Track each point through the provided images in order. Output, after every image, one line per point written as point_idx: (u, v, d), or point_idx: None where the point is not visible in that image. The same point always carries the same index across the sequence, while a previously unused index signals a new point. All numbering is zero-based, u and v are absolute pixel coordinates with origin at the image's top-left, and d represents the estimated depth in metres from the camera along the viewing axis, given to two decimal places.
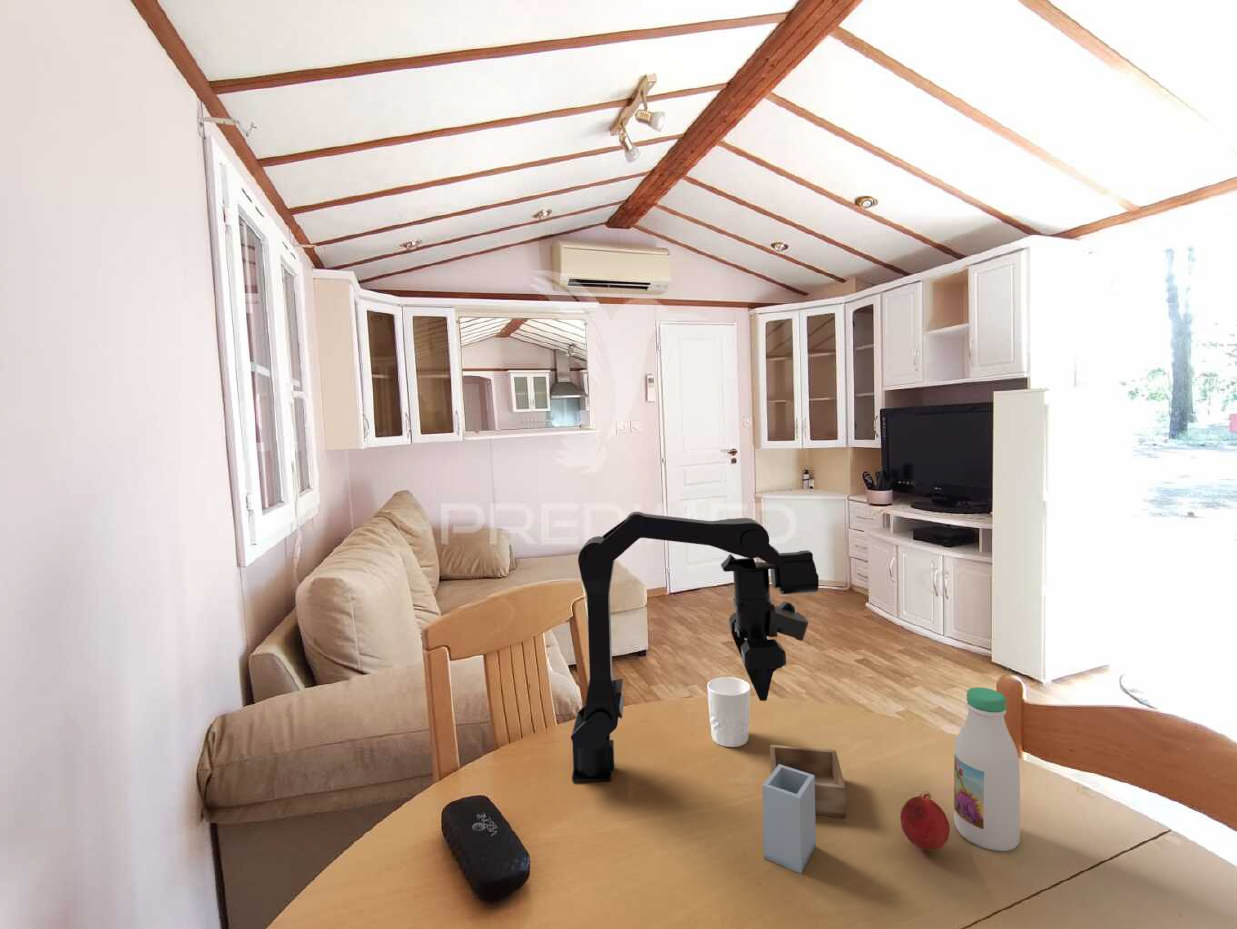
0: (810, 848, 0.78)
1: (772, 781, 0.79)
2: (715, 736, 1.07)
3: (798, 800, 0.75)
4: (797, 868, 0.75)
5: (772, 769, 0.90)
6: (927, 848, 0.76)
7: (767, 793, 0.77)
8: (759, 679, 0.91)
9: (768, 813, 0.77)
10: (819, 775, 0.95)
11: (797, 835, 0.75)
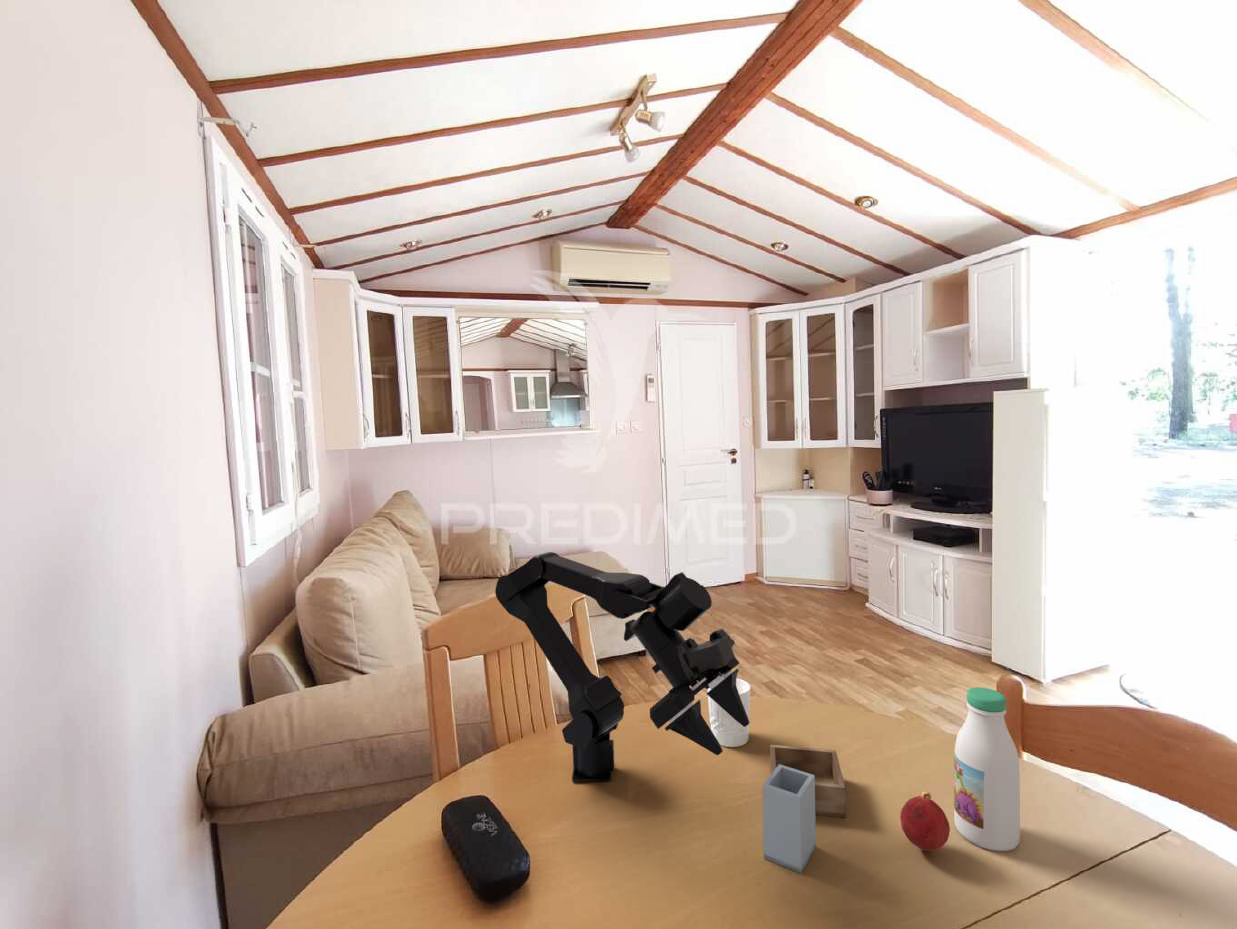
0: (810, 848, 0.78)
1: (772, 781, 0.79)
2: (715, 736, 1.07)
3: (798, 800, 0.75)
4: (797, 868, 0.75)
5: (772, 769, 0.90)
6: (927, 848, 0.76)
7: (767, 793, 0.77)
8: (695, 733, 0.80)
9: (768, 813, 0.77)
10: (819, 775, 0.95)
11: (797, 835, 0.75)
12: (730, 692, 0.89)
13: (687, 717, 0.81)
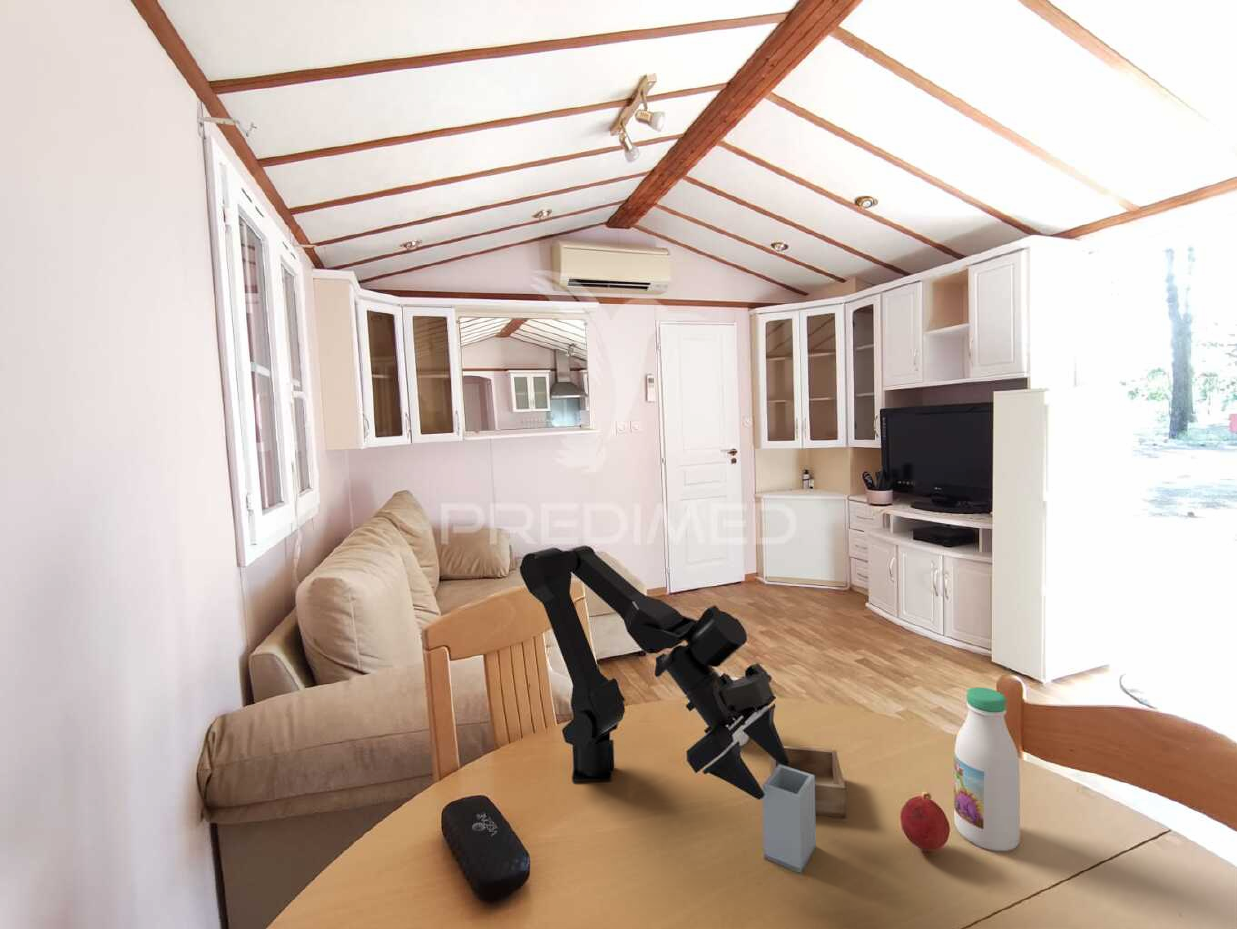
0: (810, 848, 0.78)
1: (772, 781, 0.79)
2: None
3: (798, 800, 0.75)
4: (797, 868, 0.75)
5: (772, 769, 0.90)
6: (927, 848, 0.76)
7: (767, 793, 0.77)
8: (735, 777, 0.77)
9: (768, 813, 0.77)
10: (819, 775, 0.95)
11: (797, 835, 0.75)
12: (768, 729, 0.85)
13: (726, 759, 0.77)
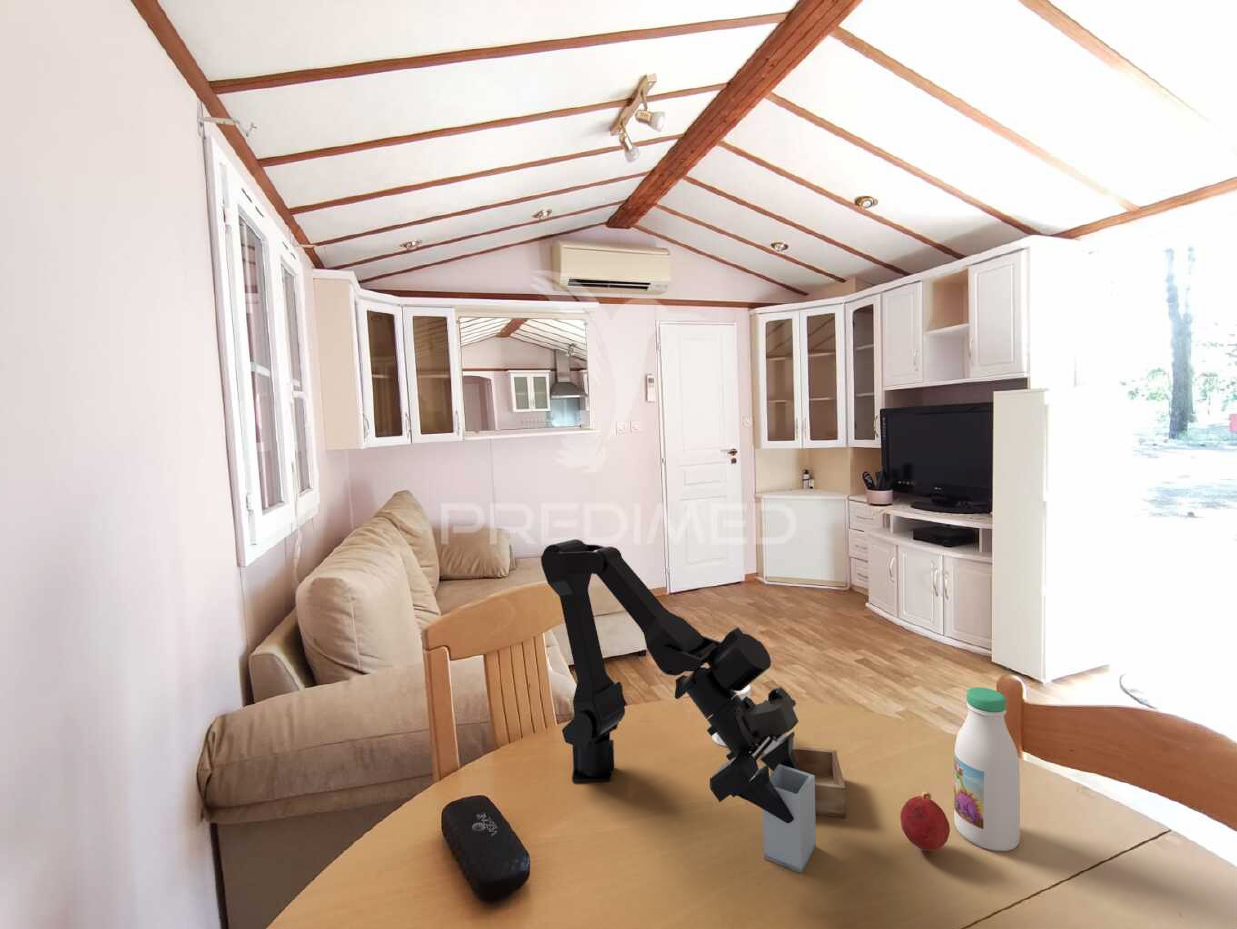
0: (810, 848, 0.78)
1: (772, 781, 0.79)
2: (715, 736, 1.07)
3: (798, 800, 0.75)
4: (797, 868, 0.75)
5: None
6: (927, 848, 0.76)
7: None
8: (764, 800, 0.76)
9: (768, 813, 0.77)
10: (819, 775, 0.95)
11: (797, 835, 0.75)
12: (787, 759, 0.82)
13: (754, 782, 0.77)
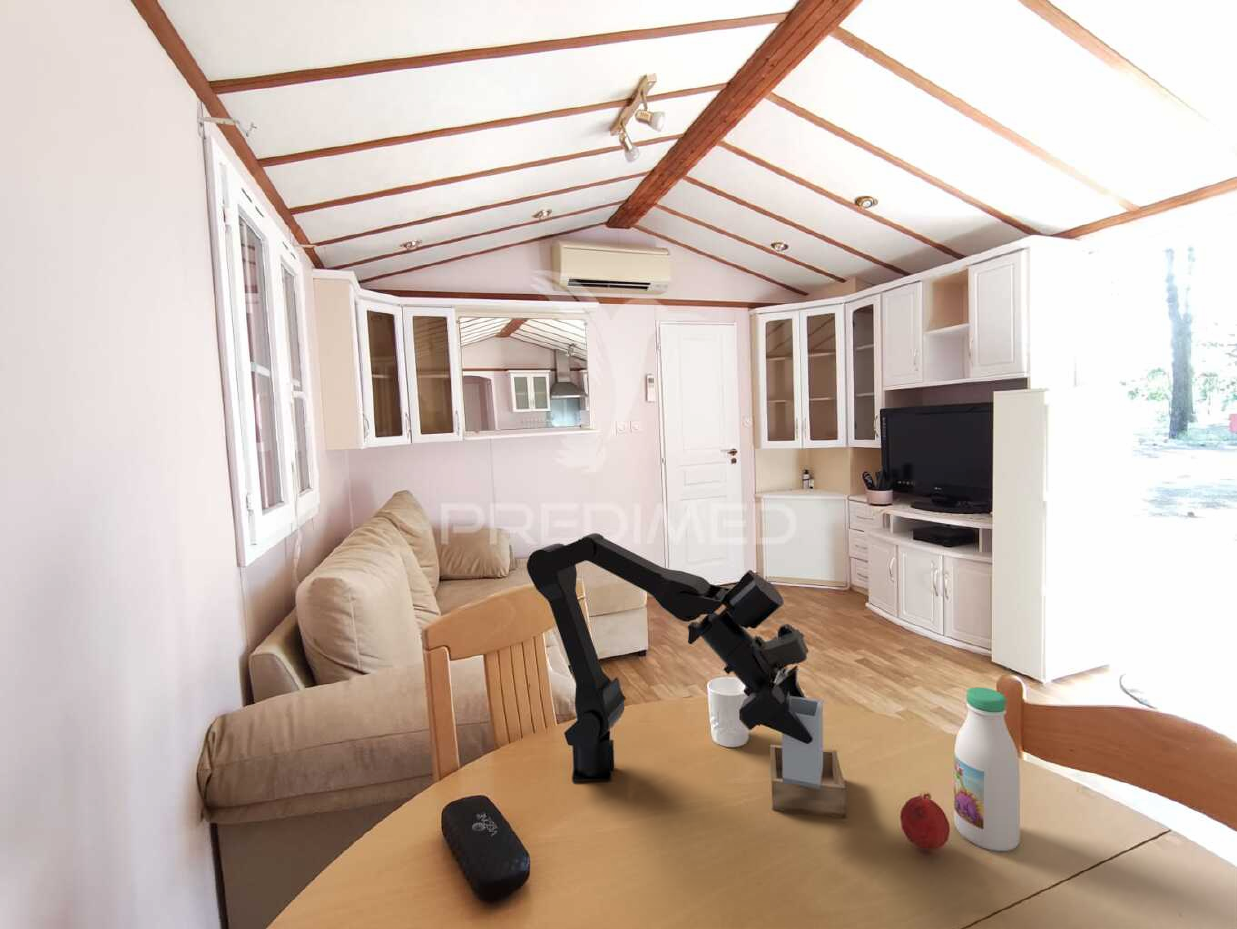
0: (821, 767, 0.85)
1: None
2: (715, 736, 1.07)
3: (817, 721, 0.81)
4: (815, 785, 0.81)
5: (772, 769, 0.90)
6: (927, 848, 0.76)
7: None
8: (786, 725, 0.81)
9: (787, 738, 0.83)
10: None
11: (816, 754, 0.81)
12: (795, 690, 0.88)
13: (776, 710, 0.82)
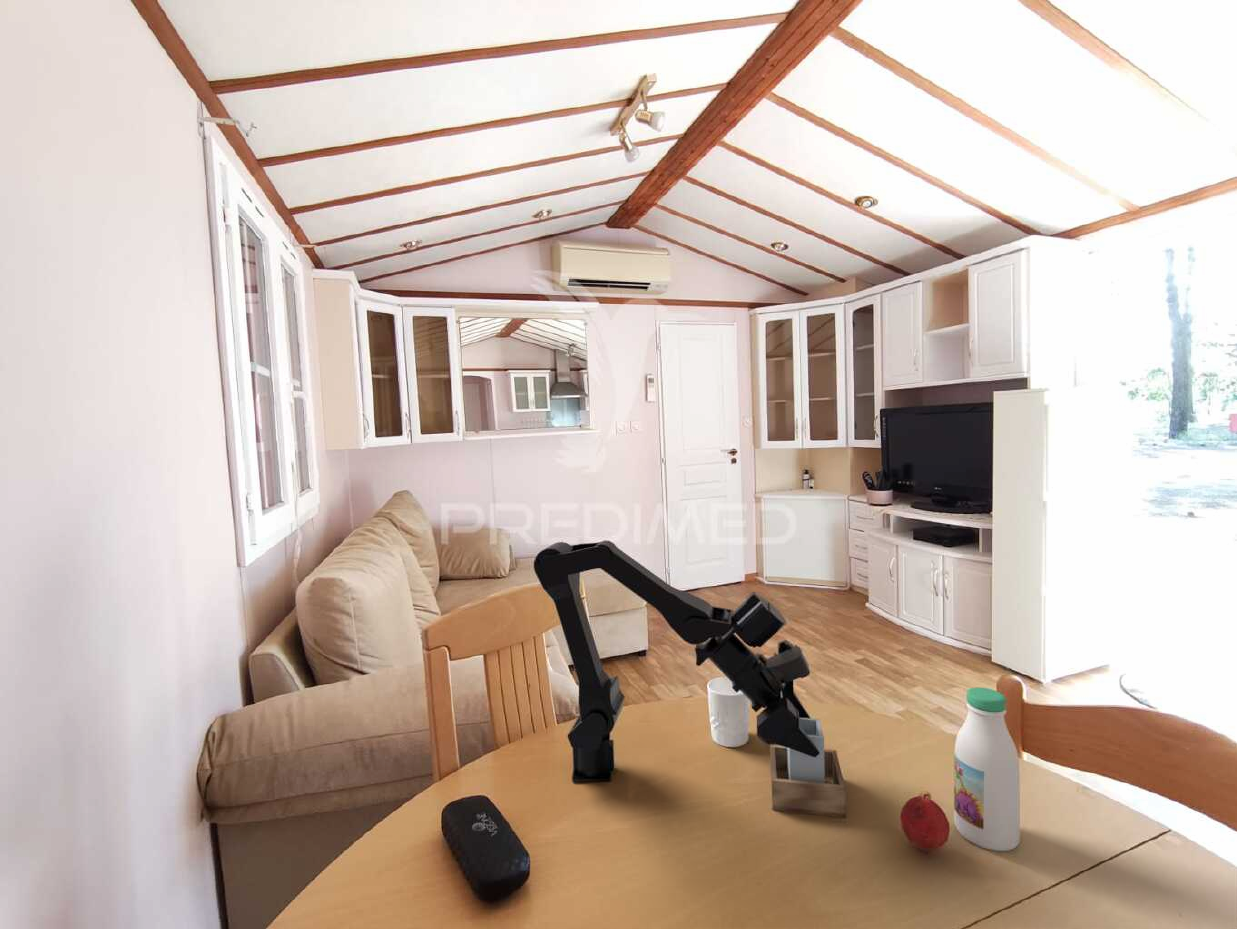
0: None
1: None
2: (715, 736, 1.07)
3: (822, 740, 0.88)
4: None
5: (772, 769, 0.90)
6: (927, 848, 0.76)
7: None
8: (795, 741, 0.86)
9: (795, 758, 0.89)
10: None
11: (821, 770, 0.88)
12: (792, 697, 0.96)
13: None
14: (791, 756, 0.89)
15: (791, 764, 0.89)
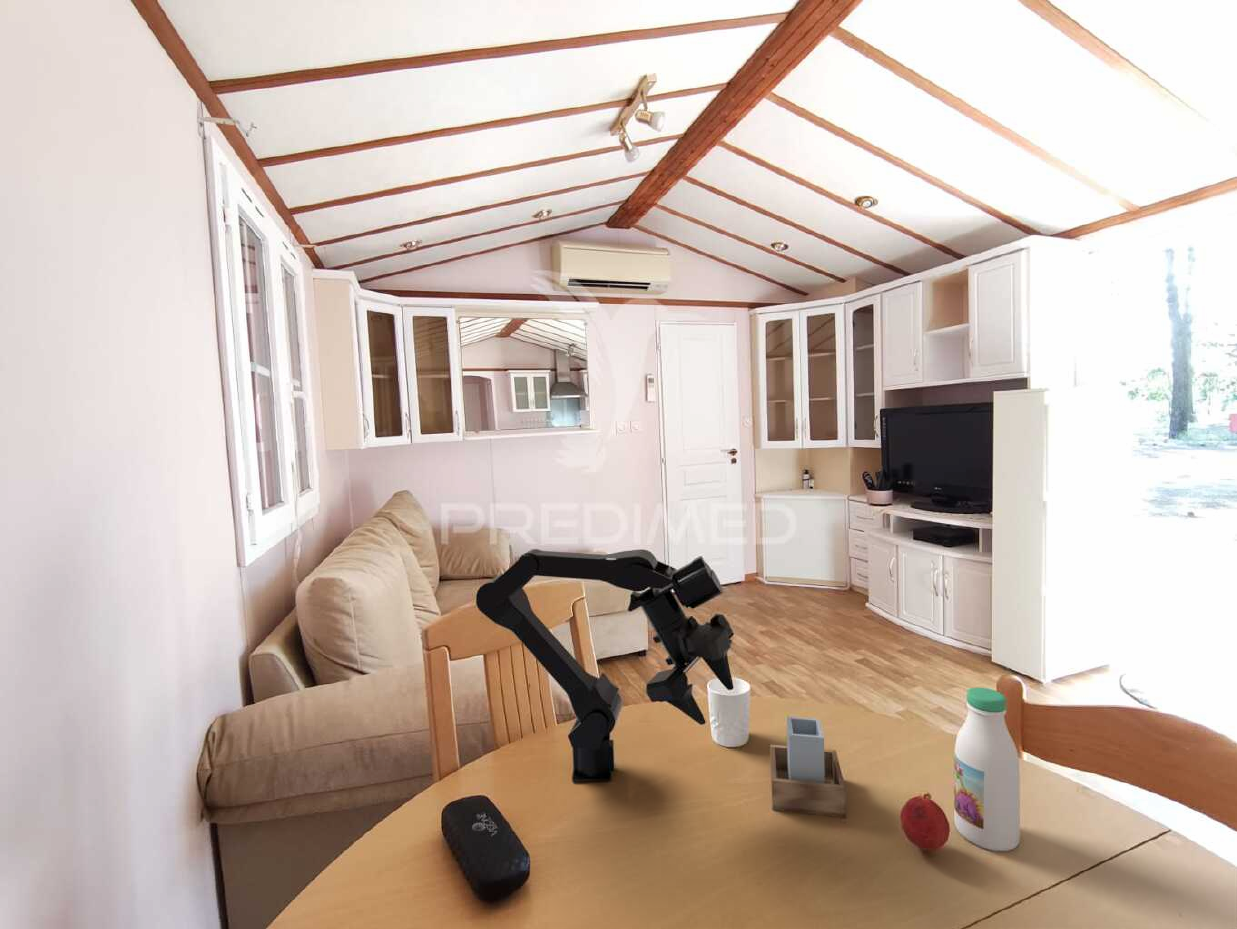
0: None
1: (792, 730, 0.91)
2: (715, 736, 1.07)
3: (822, 740, 0.88)
4: None
5: (772, 769, 0.90)
6: (927, 848, 0.76)
7: (794, 741, 0.89)
8: (684, 707, 0.91)
9: (795, 758, 0.89)
10: None
11: (821, 770, 0.88)
12: (721, 661, 0.98)
13: None
14: (791, 756, 0.89)
15: (791, 764, 0.89)
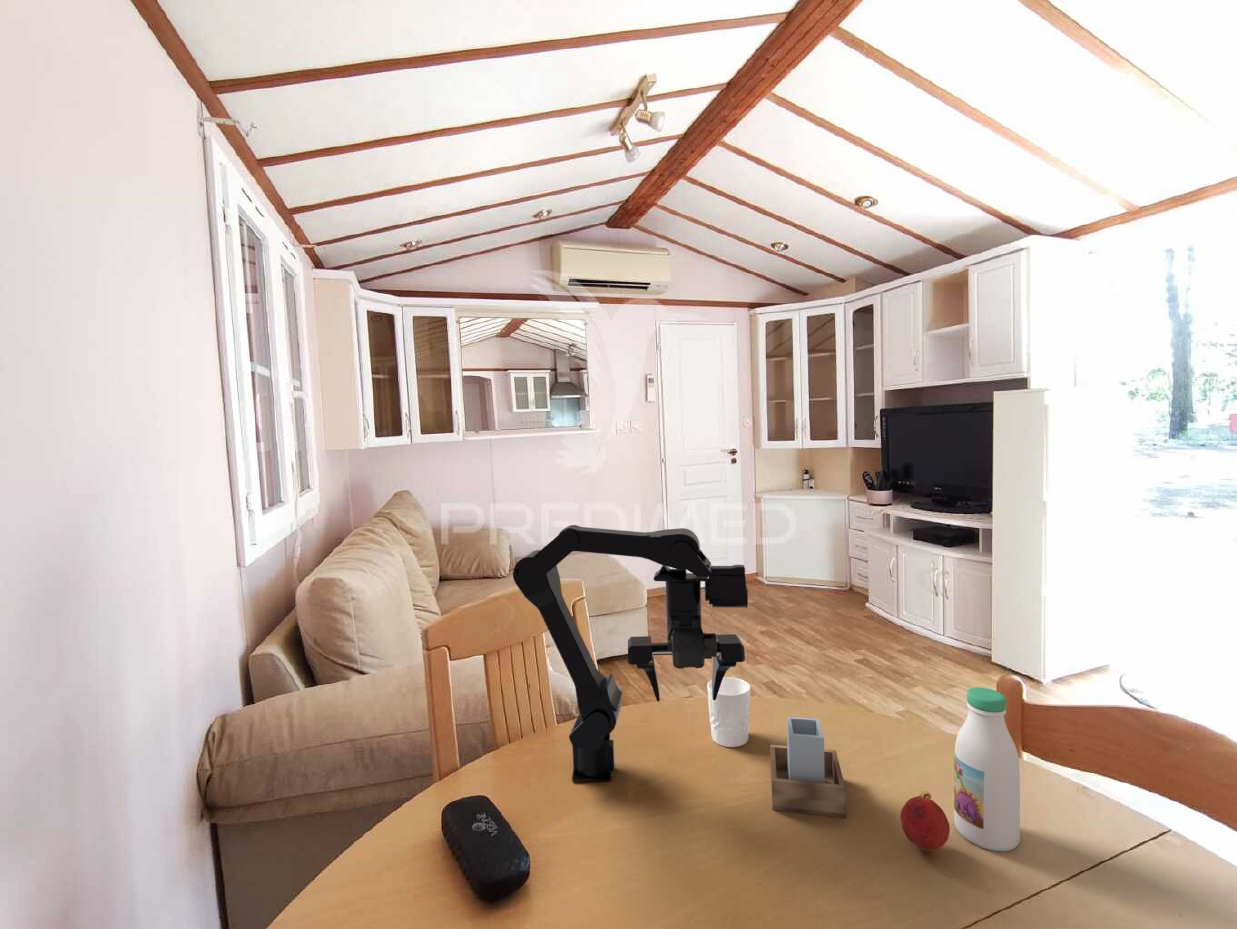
0: None
1: (792, 730, 0.91)
2: (715, 736, 1.07)
3: (822, 740, 0.88)
4: None
5: (772, 769, 0.90)
6: (927, 848, 0.76)
7: (794, 741, 0.89)
8: None
9: (795, 758, 0.89)
10: None
11: (821, 770, 0.88)
12: (715, 672, 0.95)
13: None
14: (791, 756, 0.89)
15: (791, 764, 0.89)
